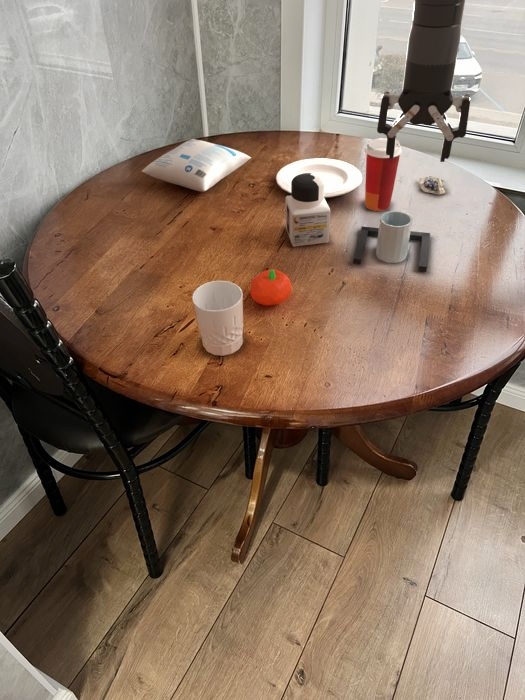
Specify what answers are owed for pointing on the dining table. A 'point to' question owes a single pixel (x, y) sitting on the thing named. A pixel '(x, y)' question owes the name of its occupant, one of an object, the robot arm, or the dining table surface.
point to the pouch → (196, 164)
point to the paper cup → (380, 174)
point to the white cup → (219, 316)
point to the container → (307, 211)
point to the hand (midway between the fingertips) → (416, 158)
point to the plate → (323, 175)
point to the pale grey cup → (393, 236)
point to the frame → (413, 236)
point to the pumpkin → (270, 287)
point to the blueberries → (432, 185)
